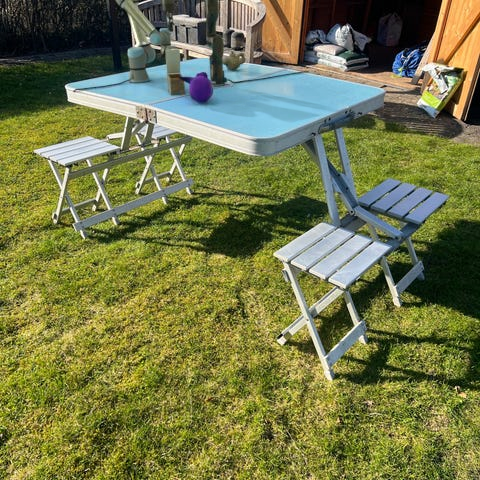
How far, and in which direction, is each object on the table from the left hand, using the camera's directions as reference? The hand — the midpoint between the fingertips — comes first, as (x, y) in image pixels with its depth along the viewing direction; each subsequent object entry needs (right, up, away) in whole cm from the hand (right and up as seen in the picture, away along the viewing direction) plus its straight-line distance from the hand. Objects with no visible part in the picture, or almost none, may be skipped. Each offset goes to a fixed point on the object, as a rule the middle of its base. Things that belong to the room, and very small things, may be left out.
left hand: (171, 58), depth 310 cm
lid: (+3, -7, -11) cm, 13 cm away
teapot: (+42, +15, +62) cm, 76 cm away
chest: (+4, -25, -6) cm, 26 cm away
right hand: (+3, +8, -23) cm, 24 cm away
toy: (+21, -38, -28) cm, 52 cm away
